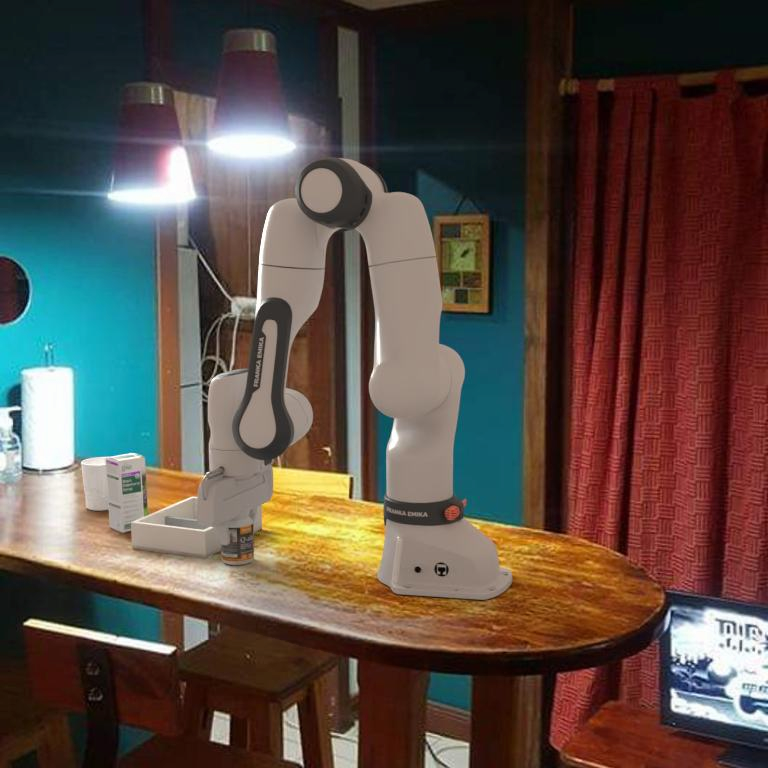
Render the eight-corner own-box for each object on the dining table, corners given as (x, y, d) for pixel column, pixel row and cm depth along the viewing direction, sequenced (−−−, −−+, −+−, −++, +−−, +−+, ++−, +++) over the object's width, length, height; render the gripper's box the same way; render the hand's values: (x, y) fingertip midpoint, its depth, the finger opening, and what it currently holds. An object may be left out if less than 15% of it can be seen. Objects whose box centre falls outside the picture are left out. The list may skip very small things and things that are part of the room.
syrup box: (122, 533, 200) (119, 460, 198) (108, 527, 205) (105, 455, 203) (149, 528, 204) (146, 456, 202) (134, 522, 209) (131, 451, 206)
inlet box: (262, 528, 203) (261, 504, 202) (205, 558, 185) (204, 531, 184) (192, 520, 209) (192, 496, 208) (132, 548, 191) (130, 522, 190)
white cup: (129, 505, 222) (127, 459, 220) (101, 513, 215) (99, 466, 214) (104, 500, 226) (101, 455, 224) (75, 508, 219) (73, 462, 218)
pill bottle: (248, 567, 180) (246, 511, 178) (216, 565, 181) (215, 510, 180) (258, 557, 185) (256, 503, 184) (228, 555, 187) (226, 501, 185)
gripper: (218, 476, 170) (220, 557, 172) (278, 451, 189) (280, 525, 191) (185, 472, 172) (188, 553, 174) (248, 449, 191) (250, 521, 193)
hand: (237, 538), depth 183 cm, fingers closed on pill bottle, 6 cm apart
